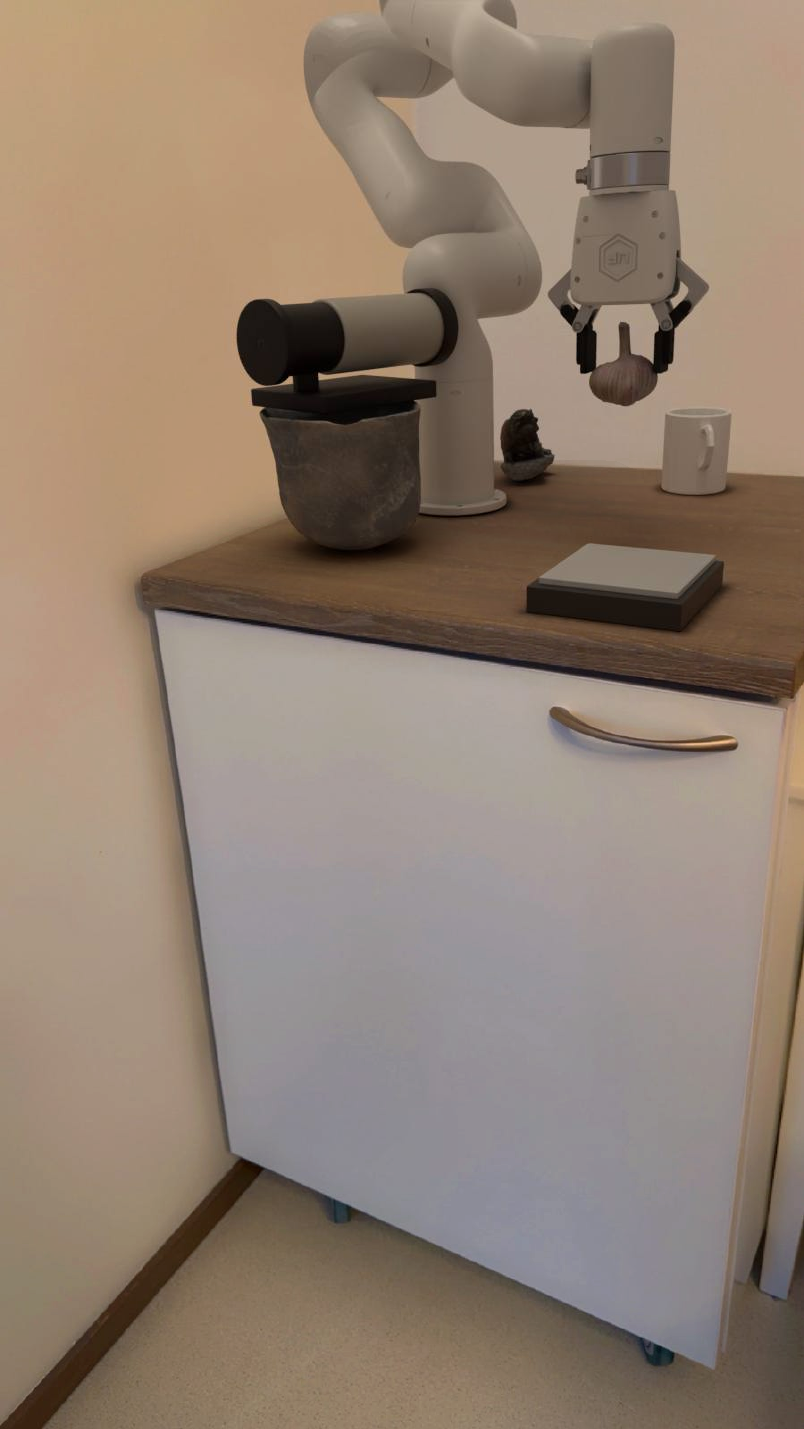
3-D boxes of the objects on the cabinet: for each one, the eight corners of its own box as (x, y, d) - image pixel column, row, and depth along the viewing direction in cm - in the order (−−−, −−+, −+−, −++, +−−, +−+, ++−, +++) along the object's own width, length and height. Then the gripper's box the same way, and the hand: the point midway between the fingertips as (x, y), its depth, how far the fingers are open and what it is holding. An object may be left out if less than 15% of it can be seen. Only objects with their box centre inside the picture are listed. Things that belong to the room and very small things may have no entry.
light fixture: (221, 298, 109) (393, 288, 125) (230, 409, 113) (396, 385, 129) (297, 298, 101) (471, 288, 117) (304, 418, 105) (471, 392, 121)
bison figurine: (507, 470, 156) (507, 399, 152) (556, 470, 154) (557, 398, 150) (496, 488, 145) (496, 411, 141) (548, 488, 143) (549, 410, 139)
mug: (675, 503, 132) (680, 421, 128) (656, 483, 143) (660, 407, 139) (740, 500, 132) (747, 419, 128) (716, 481, 143) (722, 405, 139)
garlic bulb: (633, 410, 105) (636, 324, 102) (570, 406, 110) (571, 324, 107) (671, 400, 111) (675, 318, 107) (610, 397, 115) (612, 318, 112)
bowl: (239, 560, 116) (224, 418, 110) (311, 521, 131) (301, 394, 125) (391, 570, 110) (384, 420, 104) (448, 529, 124) (445, 395, 118)
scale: (526, 611, 96) (526, 579, 95) (581, 570, 107) (582, 541, 106) (680, 631, 90) (682, 597, 89) (722, 585, 101) (724, 554, 100)
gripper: (529, 184, 103) (530, 376, 110) (712, 168, 95) (700, 376, 102) (556, 186, 109) (556, 369, 116) (730, 171, 101) (718, 368, 108)
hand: (623, 371), depth 109 cm, fingers closed on garlic bulb, 7 cm apart
